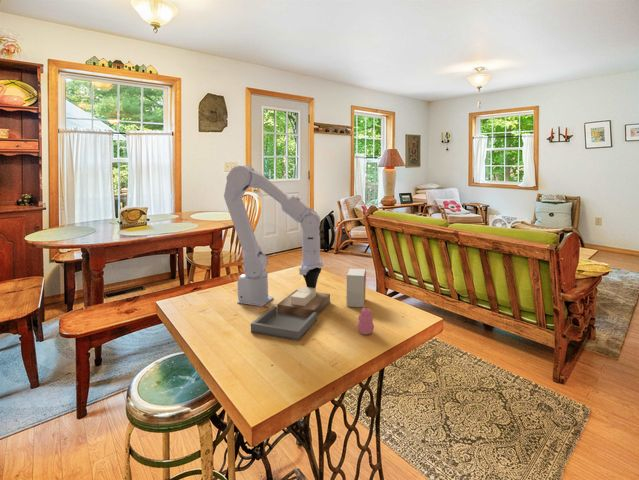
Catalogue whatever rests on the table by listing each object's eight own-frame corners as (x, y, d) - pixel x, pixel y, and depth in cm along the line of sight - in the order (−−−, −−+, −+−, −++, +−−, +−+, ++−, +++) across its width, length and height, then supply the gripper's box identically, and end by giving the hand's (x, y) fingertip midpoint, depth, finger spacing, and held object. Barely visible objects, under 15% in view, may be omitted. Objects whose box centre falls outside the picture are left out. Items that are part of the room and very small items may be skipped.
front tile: (290, 304, 110) (290, 296, 110) (297, 298, 114) (296, 291, 114) (304, 306, 109) (304, 298, 108) (310, 300, 113) (310, 293, 112)
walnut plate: (277, 313, 110) (277, 304, 110) (296, 298, 123) (296, 289, 123) (314, 319, 106) (314, 309, 106) (330, 302, 119) (330, 294, 118)
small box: (363, 308, 115) (364, 276, 112) (346, 306, 116) (346, 275, 114) (365, 299, 122) (366, 268, 120) (349, 297, 123) (349, 267, 121)
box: (251, 332, 98) (250, 323, 98) (273, 313, 110) (273, 306, 110) (298, 340, 94) (298, 331, 93) (316, 320, 105) (316, 312, 105)
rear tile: (297, 298, 114) (297, 291, 114) (303, 293, 119) (303, 286, 118) (310, 300, 113) (310, 292, 112) (316, 295, 117) (315, 288, 117)
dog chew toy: (358, 328, 101) (359, 303, 99) (375, 330, 99) (375, 305, 98) (355, 335, 97) (355, 309, 95) (372, 337, 95) (372, 311, 94)
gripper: (314, 256, 108) (314, 299, 111) (330, 245, 122) (330, 284, 124) (292, 254, 111) (293, 296, 114) (310, 244, 124) (311, 282, 127)
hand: (311, 290), depth 119 cm, fingers closed
